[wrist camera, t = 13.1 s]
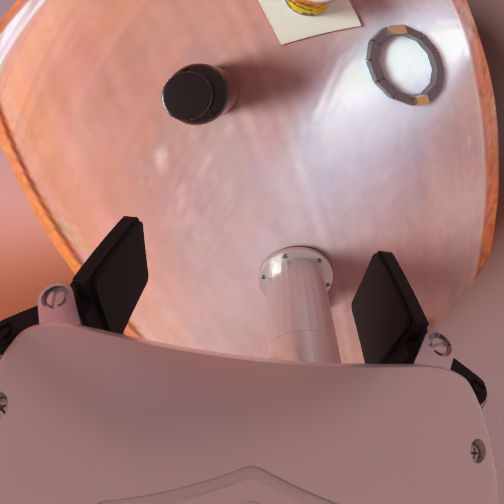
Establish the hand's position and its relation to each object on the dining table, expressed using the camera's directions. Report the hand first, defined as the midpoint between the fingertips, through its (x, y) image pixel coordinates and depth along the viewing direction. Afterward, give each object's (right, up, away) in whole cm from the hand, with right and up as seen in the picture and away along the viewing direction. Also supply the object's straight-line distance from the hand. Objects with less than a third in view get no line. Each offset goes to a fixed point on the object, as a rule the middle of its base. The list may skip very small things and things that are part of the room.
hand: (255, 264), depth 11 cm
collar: (+20, +25, +15) cm, 36 cm away
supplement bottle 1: (-5, +21, +21) cm, 30 cm away
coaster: (+6, +32, +12) cm, 35 cm away
